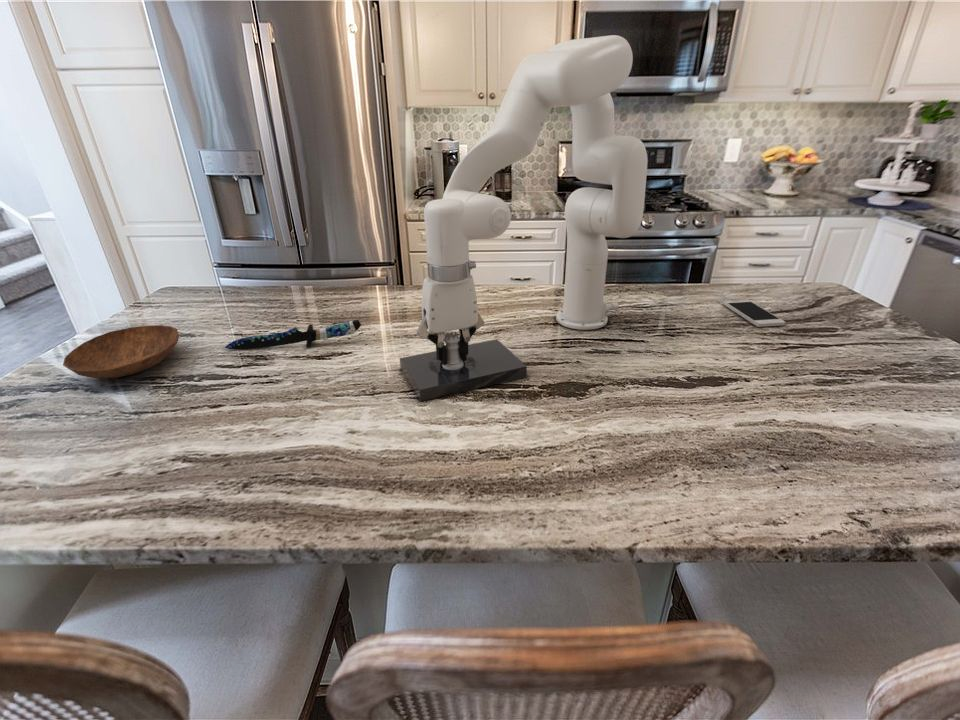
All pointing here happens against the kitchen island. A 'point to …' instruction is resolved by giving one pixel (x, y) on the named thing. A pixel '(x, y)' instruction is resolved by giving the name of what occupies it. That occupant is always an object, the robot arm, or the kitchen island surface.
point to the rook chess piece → (452, 352)
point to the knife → (295, 336)
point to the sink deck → (462, 370)
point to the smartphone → (754, 313)
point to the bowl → (122, 351)
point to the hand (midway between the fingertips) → (452, 359)
